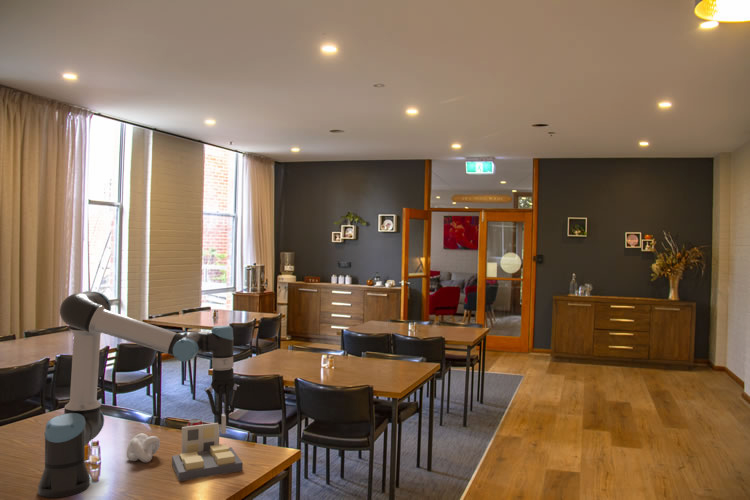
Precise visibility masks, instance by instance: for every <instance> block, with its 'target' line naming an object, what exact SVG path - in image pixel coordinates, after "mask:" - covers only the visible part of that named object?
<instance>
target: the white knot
mask: <svg viewBox="0 0 750 500" xmlns="http://www.w3.org/2000/svg"><path fill="white" fill-rule="evenodd" d="M160 446H161V440H160V438H159V437H158V436H156V435H155V436H154V435H151V436H148V435H147V434H146V433H141V432H140V433H138V434H136V435H134V436H133V438H132V439H131V440H130V441H129V444H128V446H127V450H126V458H127V459H128V461H130V462H136V461H138V460H140V461H141V462H143V463H148V462H151V460H152V459H153V455H155V454H156V453H157V452H158V450H159V449H160Z"/></svg>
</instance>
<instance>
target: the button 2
mask: <svg viewBox="0 0 750 500" xmlns="http://www.w3.org/2000/svg"><path fill="white" fill-rule="evenodd" d="M183 467H184V469H185V470H191V469H197V468H204V461H203V459H202V457H201V456H194V457H187V458H183Z"/></svg>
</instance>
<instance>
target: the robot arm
mask: <svg viewBox="0 0 750 500" xmlns="http://www.w3.org/2000/svg"><path fill="white" fill-rule="evenodd" d="M111 309H112V305H111V301H110V299H109V297H107V296H106V295H105V294H104V293H102V292H100V291H93V290H86V291H84V292H83V291H82V292H77V293H73V294H70V295H68V296H67V297H66V298H64V300H63V301H62V302H61V305H60V308H59V316H60V318H61V320H62V321H63V322H64V323H65V324H66V325H68V326H69V328H68V330H69V331H70V332H71V333H73V341H72V343H73V344H72V359H71V377H70V391H69V395H70V396H69V402H68V403H66V404H65V405H64V410H63V414H60V415H57V416H55V417H52V418H51V419H50V420H48V421H47V423H46V424H45V430H44V468H43V471H42V475H41V477H40V480H39V484H38V486H37V488H38V490H37V494H38V495H39V496H40V497H42V498H48V499H53V498H54V499H56V498H65V497H69V496H74V495H77V494H79V493H82V492H84V491H85V490H87V489H88V488H89V487H90V485H91V478H90V474H89V472H88V469H87V466H86V464H85V463H86V462H85V453H86V451H85V450H86V449H85V446H86V445H88V444H89V443H90V442H91V441H92V440H94V439H95V438H96V437H98V435H99V434H100V432H101V431H103V430H102V429H103V428H104V425H105V416H104V413H103V412H102V410H101V409H102V403H101V402H100V401H99V400H98V398H97V397H98V384H99V367H100V352H101V351H100V350H101V349H100V348H101V335H102V334H105V335H107V336H108V335H109V336H111V337H114V338H117V339H120V340H124V341H127V342H130V343H133V344H136V345H139V346H142V347H145V348H147V349H148V348H149V349H152V350H154V351H158V352H160V353H164V354H168V355H170V356H174V358H175V359H176V360H178V361H180V362H188V361H190V360H193V359H194V358H196V356H197V355H198V354H203V353H204V354H205V353H212V358H211V359H212V360H211V363H212V365H211V367H212V371H211V374H212V376H211V379H212V380H211V384H210V386H209V387H207V388H206V387H205V389H204V391H205V393H206V394H207V396H208V398H207V399H208V400H209V401H208V402H209V405H210V410H211V413H212V414H213V415H214V416H217V417H216V419H217V421H216V423H218V424H219V433H221V434H222V435H224V434H227V424H229V419H230V418H229V417H230V414H231V413H232V414H233V413H234V412H235V407H236V404H237V399H238V396H239V395H238V394H239V392H240V390H241V388H242V387H241V386H240V385H239V384H237V383H235V380H234V340H235V339H234V329H233V327H232V326H231V325H216V326H213V327H211V328H212V329H211V331H187V332H186V331H185V332H180V333H178V332H175V331H172V330H170V329H165V328H163V327H159V326H157V325H153V324H151V323H147V322H145V321H142V320H138V319H135V318H132V317H129V316H125V315H123V314H121V313H117V312H114V311H112V310H111ZM232 389H233V391H232ZM231 391H232V394H231V395H232V396H231V399H230V392H231ZM213 392H215V393H216V404H215V400H214V397H213ZM223 402H224V403H223ZM223 412H224V413H223Z"/></svg>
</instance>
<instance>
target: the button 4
mask: <svg viewBox="0 0 750 500" xmlns="http://www.w3.org/2000/svg"><path fill="white" fill-rule="evenodd" d="M215 462H216V464H217V465H223V464H229V463H235V456H234V454H233V453H232V452H231V451H228V452H221V453H215Z"/></svg>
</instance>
